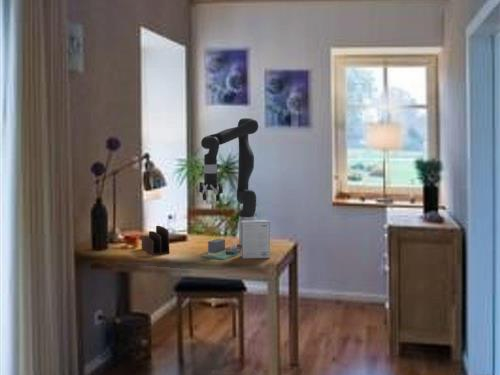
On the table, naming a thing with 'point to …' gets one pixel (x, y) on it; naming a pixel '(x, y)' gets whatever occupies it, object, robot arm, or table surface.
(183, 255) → the table surface
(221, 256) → the pcb board
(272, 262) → the table surface
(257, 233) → the hard drive box
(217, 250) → the plug housing
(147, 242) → the letter holder
